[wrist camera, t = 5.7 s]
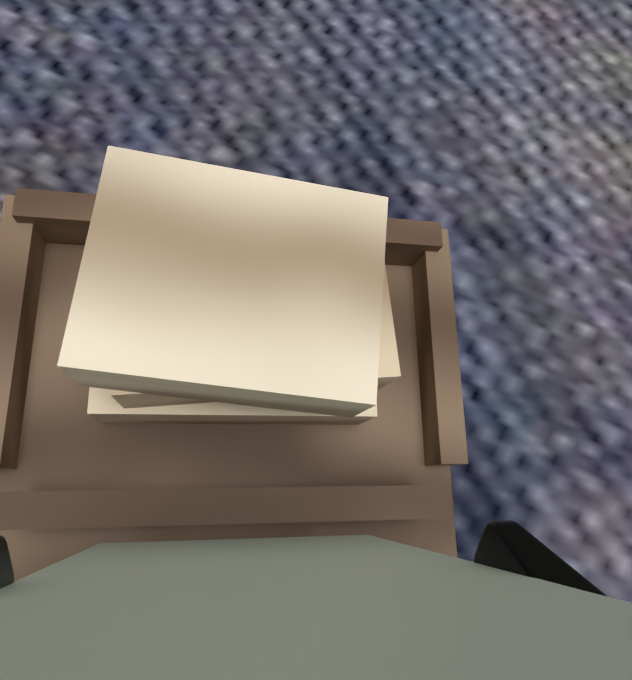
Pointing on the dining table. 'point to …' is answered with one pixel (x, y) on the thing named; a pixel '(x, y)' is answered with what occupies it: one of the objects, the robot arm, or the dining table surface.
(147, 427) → the tray
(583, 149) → the dining table surface
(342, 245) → the offcut stack
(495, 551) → the robot arm
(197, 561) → the sage panel
